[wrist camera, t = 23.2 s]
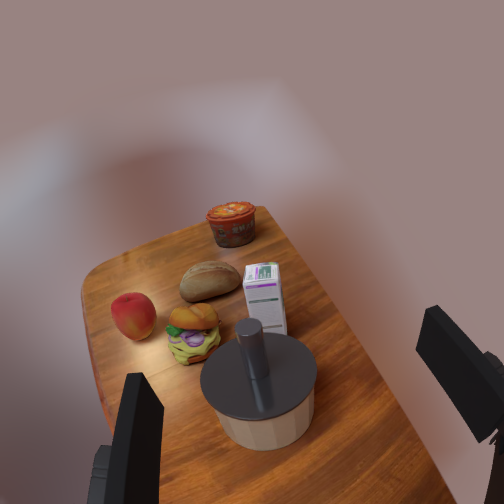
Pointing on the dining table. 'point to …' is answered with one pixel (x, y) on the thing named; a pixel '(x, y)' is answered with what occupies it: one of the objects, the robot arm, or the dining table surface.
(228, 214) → the food container
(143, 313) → the apple
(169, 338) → the cheeseburger
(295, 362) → the lid
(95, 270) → the dining table surface
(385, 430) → the dining table surface
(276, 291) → the syrup box
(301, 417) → the pot
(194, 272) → the bread roll
